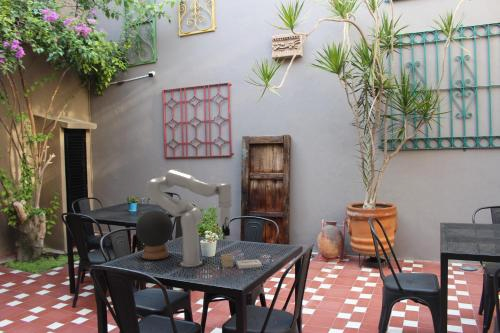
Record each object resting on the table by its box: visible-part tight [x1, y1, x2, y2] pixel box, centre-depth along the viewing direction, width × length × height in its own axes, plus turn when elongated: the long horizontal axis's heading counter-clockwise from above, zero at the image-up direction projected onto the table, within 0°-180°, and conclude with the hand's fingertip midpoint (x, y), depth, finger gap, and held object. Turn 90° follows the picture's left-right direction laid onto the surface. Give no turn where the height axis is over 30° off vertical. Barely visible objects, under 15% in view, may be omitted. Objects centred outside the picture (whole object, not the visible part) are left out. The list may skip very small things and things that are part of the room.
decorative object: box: [135, 209, 174, 261], centre depth 282 cm, size 23×23×30 cm
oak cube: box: [220, 253, 234, 268], centre depth 257 cm, size 6×6×6 cm
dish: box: [235, 259, 263, 270], centre depth 255 cm, size 10×13×2 cm
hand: (226, 234), depth 256 cm, fingers open, 9 cm apart
